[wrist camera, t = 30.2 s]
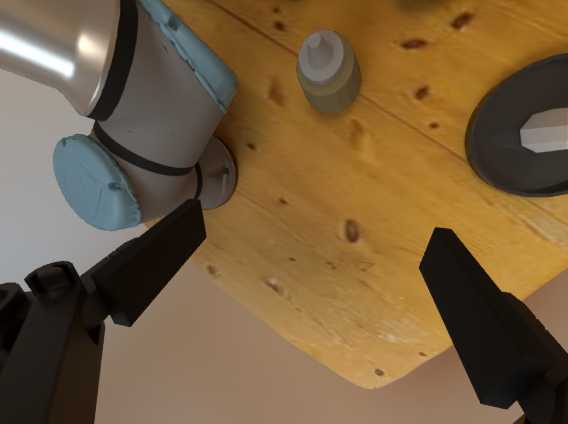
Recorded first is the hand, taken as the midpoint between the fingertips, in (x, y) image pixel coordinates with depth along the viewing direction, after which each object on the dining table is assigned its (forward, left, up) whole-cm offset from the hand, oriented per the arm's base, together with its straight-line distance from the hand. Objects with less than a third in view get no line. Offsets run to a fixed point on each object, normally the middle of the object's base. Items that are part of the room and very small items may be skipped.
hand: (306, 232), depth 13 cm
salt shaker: (+22, -14, -28) cm, 39 cm away
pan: (+22, -14, -29) cm, 39 cm away
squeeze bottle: (+9, +11, -29) cm, 32 cm away
